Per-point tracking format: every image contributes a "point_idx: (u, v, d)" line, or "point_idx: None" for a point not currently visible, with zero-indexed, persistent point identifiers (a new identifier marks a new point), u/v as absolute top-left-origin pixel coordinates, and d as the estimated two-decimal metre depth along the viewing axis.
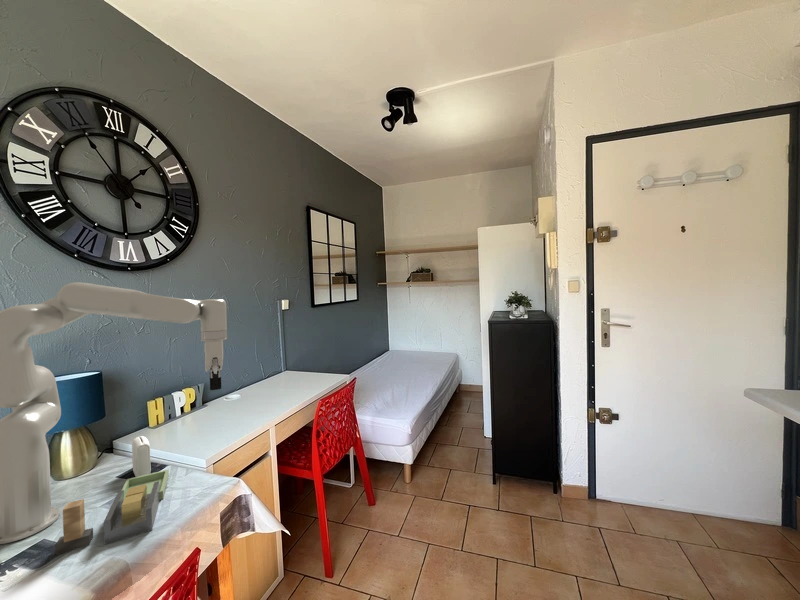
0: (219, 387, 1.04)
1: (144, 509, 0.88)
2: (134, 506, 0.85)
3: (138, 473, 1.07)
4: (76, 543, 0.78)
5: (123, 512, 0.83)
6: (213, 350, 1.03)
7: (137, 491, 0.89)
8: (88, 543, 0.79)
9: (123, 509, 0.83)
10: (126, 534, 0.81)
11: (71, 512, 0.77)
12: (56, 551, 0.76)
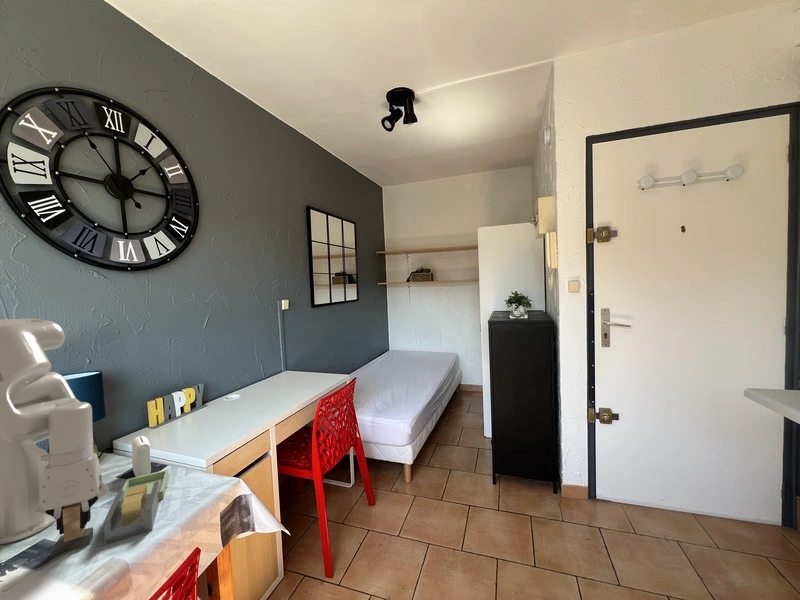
0: None
1: (144, 509, 0.88)
2: (134, 506, 0.85)
3: (138, 473, 1.07)
4: (76, 542, 0.78)
5: (123, 512, 0.83)
6: (98, 466, 0.81)
7: (137, 491, 0.89)
8: (88, 542, 0.79)
9: (123, 509, 0.83)
10: (126, 534, 0.81)
11: (71, 512, 0.77)
12: (56, 550, 0.76)
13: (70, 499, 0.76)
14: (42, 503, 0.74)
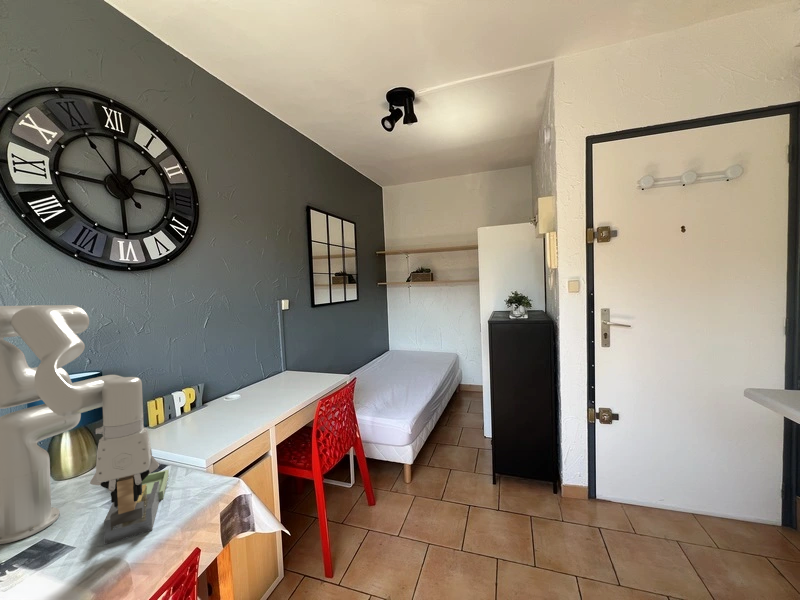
0: None
1: (144, 509, 0.88)
2: None
3: None
4: (130, 515, 0.79)
5: None
6: (149, 440, 0.81)
7: None
8: (141, 515, 0.80)
9: None
10: (126, 534, 0.81)
11: (125, 485, 0.78)
12: (111, 522, 0.77)
13: (124, 471, 0.77)
14: (98, 475, 0.75)
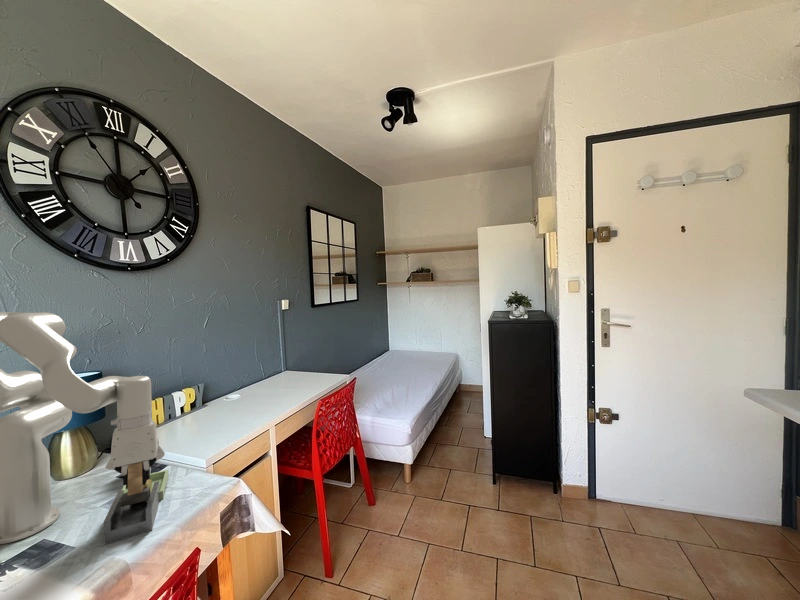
0: None
1: (144, 509, 0.88)
2: None
3: None
4: (137, 497, 0.88)
5: None
6: (156, 432, 0.93)
7: None
8: (147, 498, 0.89)
9: None
10: (126, 534, 0.81)
11: (134, 468, 0.89)
12: (121, 503, 0.86)
13: (135, 458, 0.88)
14: (113, 460, 0.86)
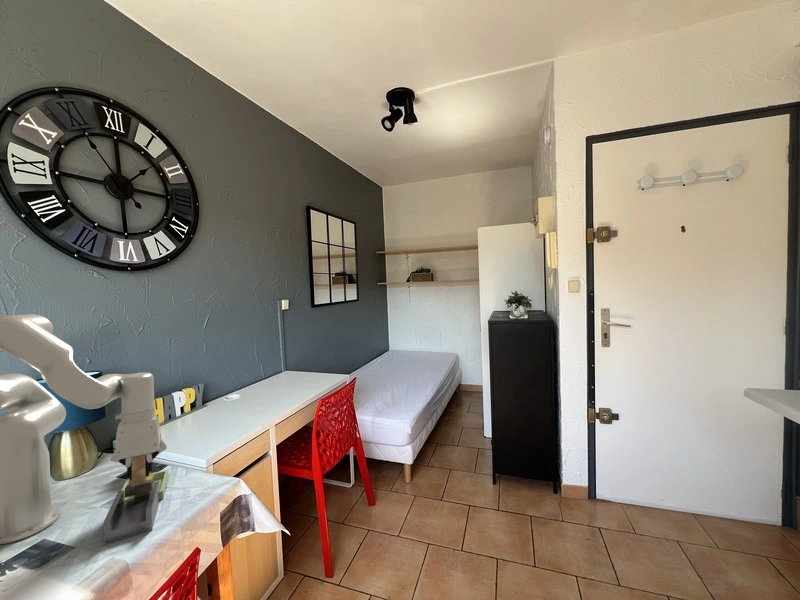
0: None
1: (144, 509, 0.88)
2: None
3: None
4: (141, 488, 0.92)
5: None
6: (159, 426, 0.97)
7: None
8: (150, 489, 0.93)
9: None
10: (126, 534, 0.81)
11: (138, 460, 0.93)
12: (125, 494, 0.90)
13: (138, 451, 0.93)
14: (117, 453, 0.90)
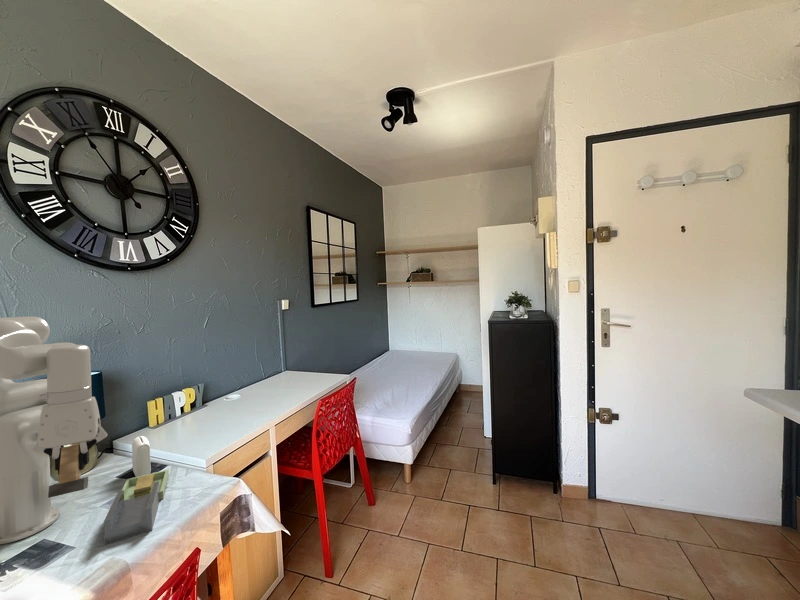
0: None
1: (144, 509, 0.88)
2: (145, 491, 0.95)
3: (138, 473, 1.07)
4: (70, 486, 0.75)
5: (135, 496, 0.94)
6: (97, 409, 0.80)
7: None
8: (82, 487, 0.76)
9: (135, 493, 0.94)
10: (126, 534, 0.81)
11: (69, 451, 0.77)
12: (49, 493, 0.73)
13: (68, 439, 0.76)
14: (40, 441, 0.74)
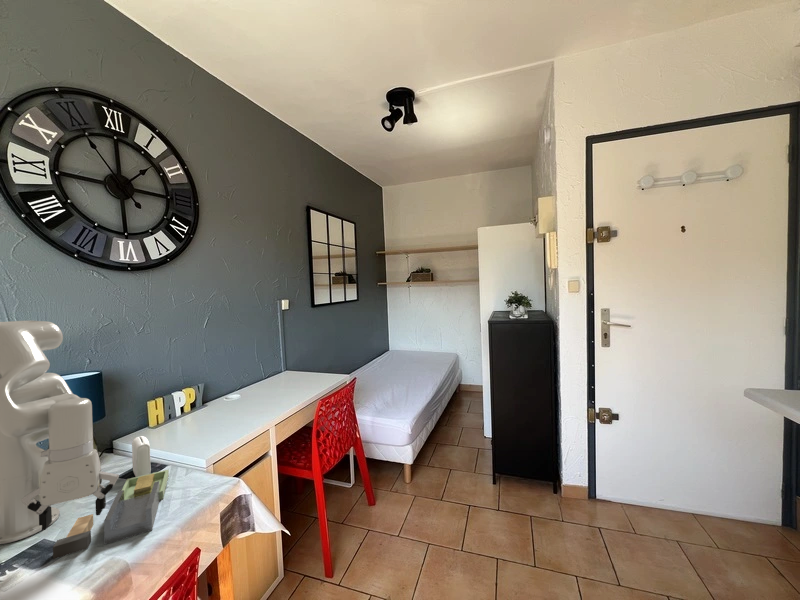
0: None
1: (144, 509, 0.88)
2: (145, 491, 0.95)
3: (138, 473, 1.07)
4: (76, 537, 0.78)
5: (135, 496, 0.94)
6: (98, 462, 0.81)
7: None
8: (87, 536, 0.78)
9: (135, 493, 0.94)
10: (126, 534, 0.81)
11: (84, 518, 0.84)
12: (55, 544, 0.76)
13: (70, 495, 0.76)
14: (42, 499, 0.74)
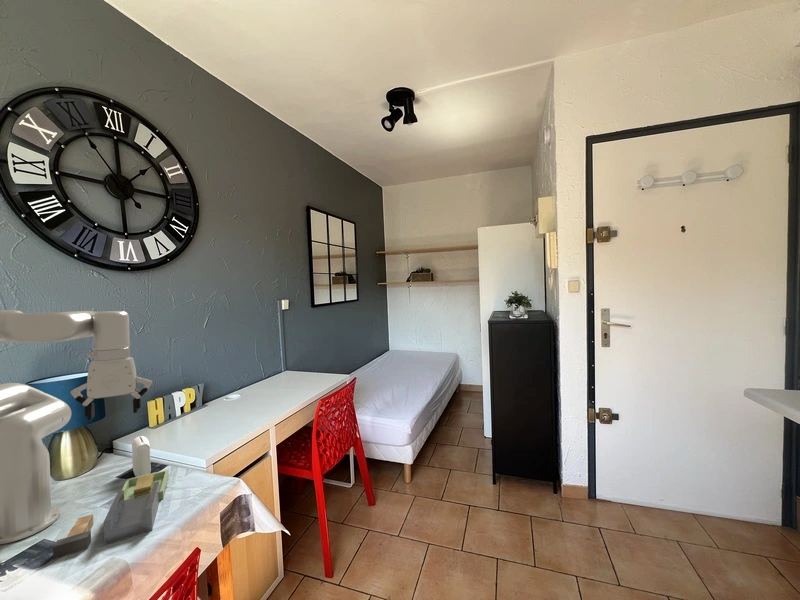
0: None
1: (144, 509, 0.88)
2: (145, 491, 0.95)
3: (138, 473, 1.07)
4: (76, 537, 0.78)
5: (135, 496, 0.94)
6: (134, 367, 0.92)
7: None
8: (86, 536, 0.78)
9: (135, 493, 0.94)
10: (126, 534, 0.81)
11: (84, 518, 0.84)
12: (55, 544, 0.76)
13: (112, 391, 0.88)
14: (89, 392, 0.85)
